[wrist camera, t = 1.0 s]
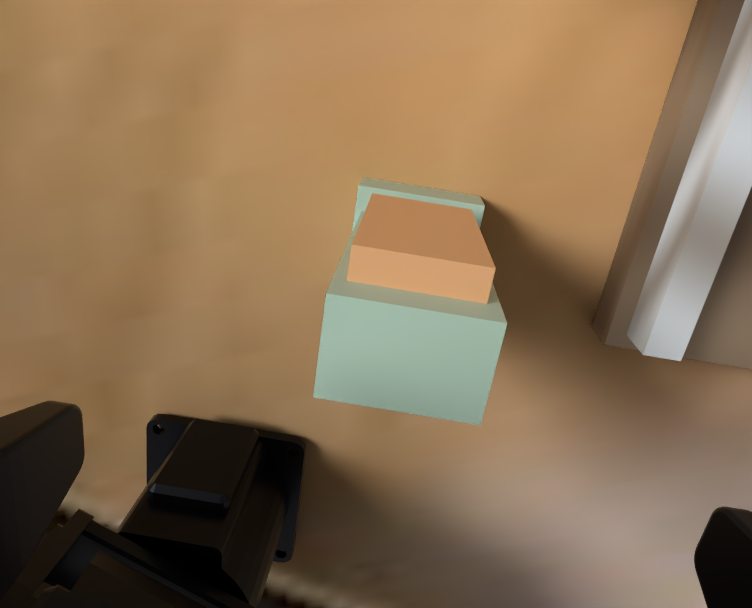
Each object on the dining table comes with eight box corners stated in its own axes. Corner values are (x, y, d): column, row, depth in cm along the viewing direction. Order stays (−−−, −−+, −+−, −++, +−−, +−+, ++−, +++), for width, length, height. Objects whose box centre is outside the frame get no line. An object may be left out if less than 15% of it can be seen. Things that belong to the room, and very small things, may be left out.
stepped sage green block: (455, 304, 21) (481, 457, 12) (348, 285, 21) (300, 426, 12) (479, 196, 19) (527, 287, 11) (363, 176, 19) (320, 253, 11)
